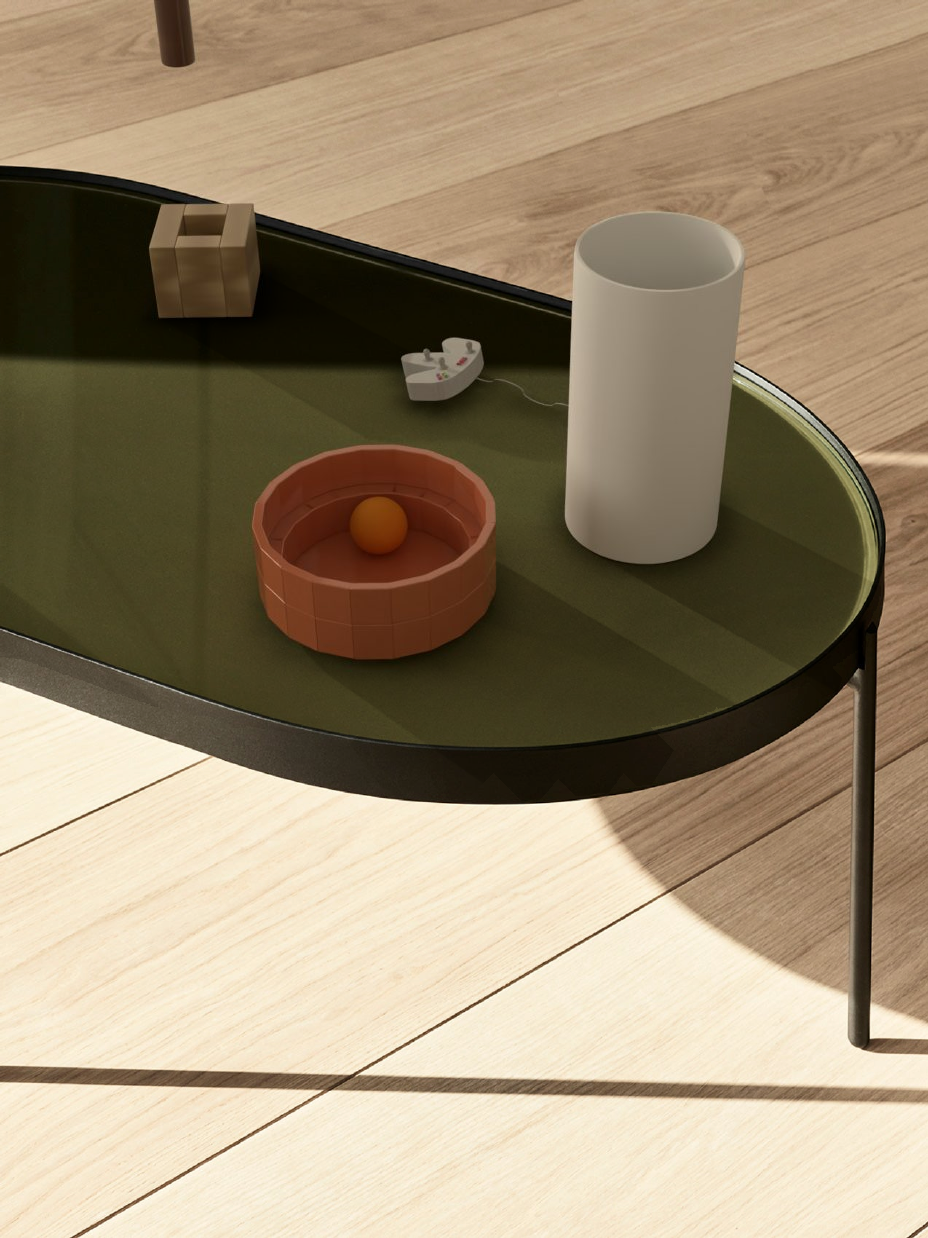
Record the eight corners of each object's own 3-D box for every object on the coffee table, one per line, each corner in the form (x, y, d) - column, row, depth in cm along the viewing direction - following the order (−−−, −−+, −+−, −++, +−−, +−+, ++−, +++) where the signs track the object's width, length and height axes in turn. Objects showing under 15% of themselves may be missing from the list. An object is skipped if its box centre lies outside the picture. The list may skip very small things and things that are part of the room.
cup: (746, 511, 91) (779, 243, 81) (659, 584, 86) (681, 310, 76) (624, 456, 95) (640, 195, 85) (534, 523, 91) (539, 255, 80)
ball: (350, 566, 87) (346, 520, 85) (352, 531, 89) (349, 485, 87) (408, 565, 87) (406, 519, 85) (409, 530, 89) (407, 484, 87)
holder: (159, 318, 108) (148, 247, 105) (170, 272, 112) (161, 203, 109) (252, 317, 108) (245, 246, 105) (260, 271, 112) (253, 202, 109)
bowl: (251, 670, 82) (241, 590, 79) (271, 522, 91) (263, 445, 88) (498, 667, 82) (498, 587, 79) (493, 519, 91) (493, 442, 88)
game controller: (408, 356, 104) (407, 318, 102) (594, 371, 103) (596, 333, 101) (391, 405, 100) (389, 367, 98) (584, 422, 98) (586, 383, 97)
